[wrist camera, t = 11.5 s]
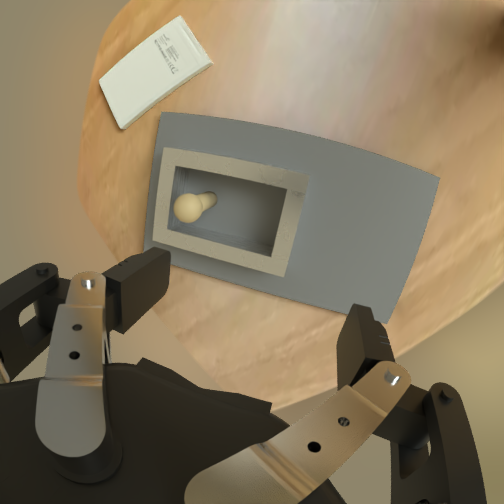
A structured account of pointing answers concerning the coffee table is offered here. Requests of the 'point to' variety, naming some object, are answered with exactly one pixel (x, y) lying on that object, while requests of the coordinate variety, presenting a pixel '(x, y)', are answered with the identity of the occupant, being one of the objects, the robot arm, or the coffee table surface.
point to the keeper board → (312, 214)
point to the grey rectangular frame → (219, 243)
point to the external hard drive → (153, 71)
